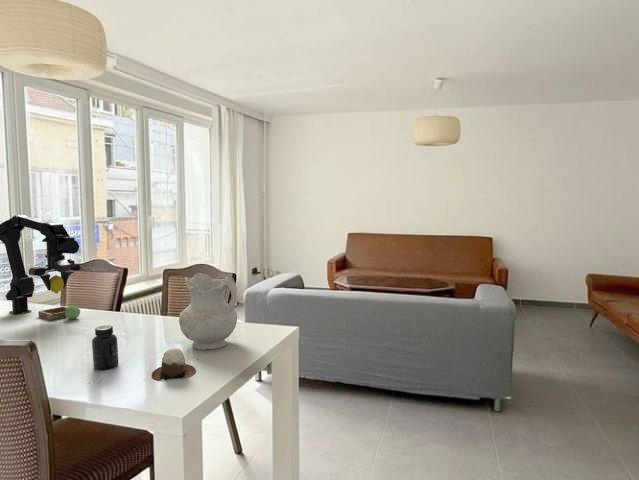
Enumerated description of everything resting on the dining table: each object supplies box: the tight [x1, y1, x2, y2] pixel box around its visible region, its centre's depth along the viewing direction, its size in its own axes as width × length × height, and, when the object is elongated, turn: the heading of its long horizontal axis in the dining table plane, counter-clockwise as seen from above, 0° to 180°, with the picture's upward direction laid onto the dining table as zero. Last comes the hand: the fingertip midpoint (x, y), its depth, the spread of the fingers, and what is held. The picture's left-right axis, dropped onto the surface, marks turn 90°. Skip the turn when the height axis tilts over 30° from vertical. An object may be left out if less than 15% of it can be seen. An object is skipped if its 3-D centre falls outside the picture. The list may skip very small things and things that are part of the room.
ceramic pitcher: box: [178, 272, 238, 351], centre depth 155 cm, size 22×20×25 cm
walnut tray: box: [38, 306, 69, 321], centre depth 194 cm, size 11×11×2 cm
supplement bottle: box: [91, 325, 119, 371], centre depth 135 cm, size 7×7×12 cm
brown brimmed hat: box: [151, 347, 197, 382], centre depth 131 cm, size 12×10×10 cm
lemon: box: [50, 274, 64, 295], centre depth 192 cm, size 6×6×8 cm
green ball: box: [65, 305, 81, 320], centre depth 189 cm, size 6×6×6 cm
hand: (56, 289), depth 193 cm, fingers closed on lemon, 5 cm apart
